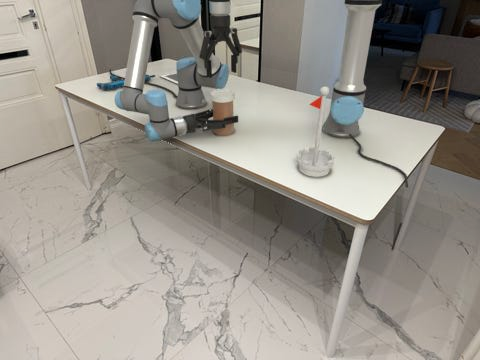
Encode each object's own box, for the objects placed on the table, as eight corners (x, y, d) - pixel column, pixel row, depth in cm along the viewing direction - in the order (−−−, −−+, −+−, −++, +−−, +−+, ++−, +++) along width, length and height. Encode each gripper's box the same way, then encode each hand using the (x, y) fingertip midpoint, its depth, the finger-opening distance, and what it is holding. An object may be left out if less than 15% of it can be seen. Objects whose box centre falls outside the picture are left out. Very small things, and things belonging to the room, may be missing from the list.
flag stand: (319, 157, 130) (331, 78, 113) (339, 173, 119) (355, 90, 103) (289, 163, 126) (296, 83, 109) (307, 181, 115) (318, 95, 99)
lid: (220, 104, 136) (219, 99, 135) (205, 97, 142) (205, 92, 141) (239, 99, 141) (239, 93, 140) (225, 92, 148) (224, 87, 146)
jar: (221, 137, 145) (220, 99, 135) (209, 130, 150) (207, 93, 141) (237, 131, 149) (237, 94, 140) (225, 125, 155) (224, 89, 146)
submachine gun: (141, 68, 225) (159, 74, 208) (142, 74, 227) (160, 80, 210) (89, 78, 206) (104, 86, 190) (91, 84, 208) (106, 92, 192)
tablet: (159, 76, 219) (159, 75, 219) (186, 70, 230) (186, 70, 230) (187, 88, 199) (187, 87, 198) (214, 81, 210) (214, 80, 210)
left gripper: (175, 124, 149) (221, 114, 158) (194, 144, 133) (244, 132, 142) (174, 108, 145) (221, 99, 154) (193, 126, 129) (244, 115, 138)
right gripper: (239, 10, 133) (239, 67, 145) (186, 15, 121) (191, 77, 133) (251, 12, 128) (250, 71, 140) (197, 18, 116) (201, 82, 128)
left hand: (232, 115), depth 148 cm, fingers open, 9 cm apart
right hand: (221, 74), depth 136 cm, fingers open, 11 cm apart
